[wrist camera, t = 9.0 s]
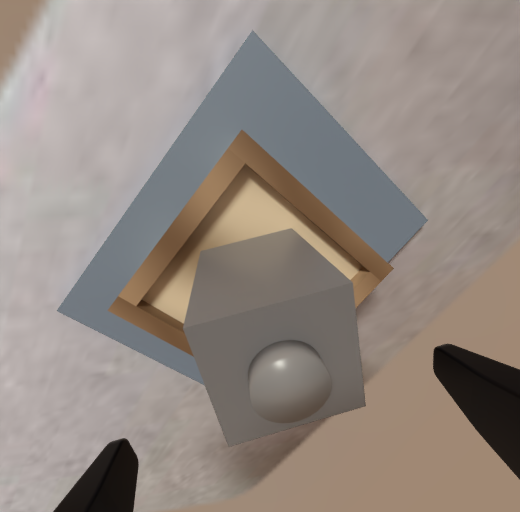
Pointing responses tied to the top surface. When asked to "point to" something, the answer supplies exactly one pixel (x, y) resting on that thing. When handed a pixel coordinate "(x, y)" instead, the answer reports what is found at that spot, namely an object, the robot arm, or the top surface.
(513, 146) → the top surface
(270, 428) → the block
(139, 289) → the wooden tray
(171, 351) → the board
